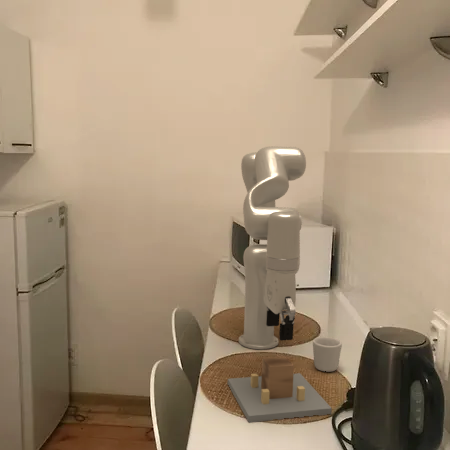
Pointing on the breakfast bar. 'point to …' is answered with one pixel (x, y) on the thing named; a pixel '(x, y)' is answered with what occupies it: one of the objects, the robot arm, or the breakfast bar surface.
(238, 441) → the breakfast bar surface
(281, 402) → the base board
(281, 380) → the walnut block
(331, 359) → the cup
